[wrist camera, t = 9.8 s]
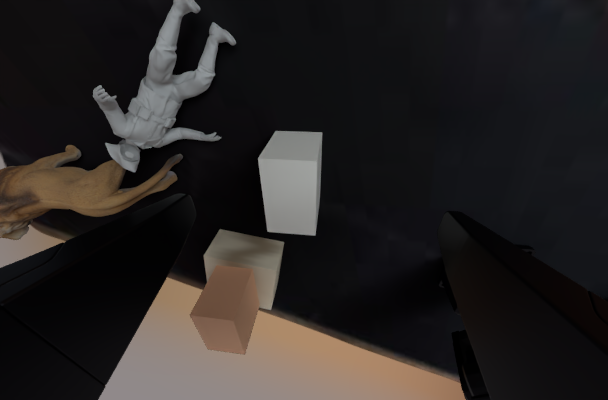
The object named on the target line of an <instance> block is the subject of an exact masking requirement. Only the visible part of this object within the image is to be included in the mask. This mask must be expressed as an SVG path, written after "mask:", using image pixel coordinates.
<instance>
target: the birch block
mask: <svg viewBox="0 0 608 400" xmlns="http://www.w3.org/2000/svg"><path fill="white" fill-rule="evenodd" d="M283 246H284V242H281V241H276V240H271V239H266V238H261V237H256V236H251V235H246V234H242V233H237V232H232V231H227V230H222V229H220V230H219V231H218V233H217V235H216V236H215V238H214V240H213V241H212V243H211V244H210V246H209V248H208V249H207V251H206V253H205V254H204V262H205V270H206V277H207V282H208V280H209V278H210V276H211V274H212V273H213V271H214V269H215V267H216V265H219V266H230V267H239V268H249V269H253V273H254V278H255V283H256V288H257V293H258V298H259V303H260V305H259V308H264V309H269V310H271V308H272V304H273V300H274V296H275V291H276V287H277V283H278V278H279V272H280V266H281V259H282V253H283Z"/></svg>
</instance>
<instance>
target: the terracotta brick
mask: <svg viewBox="0 0 608 400" xmlns="http://www.w3.org/2000/svg"><path fill="white" fill-rule="evenodd" d="M259 305H260V303H259V298H258V293H257V288H256V283H255V278H254V273H253V269H249V268H239V267H230V266H219V265H216V267H215V269H214V271H213V273H212V274H211V276H210V278H209V280H208V282H207V284H206V286H205V288H204V290H203V291H202V293H201V295H200V297H199V299H198V301H197V303H196V305H195V306H194V308H193V310H192V312H191V314H190V316H191V318H192V320H193V322H194V324H195V326H196V328H197V330H198V332H199V333H200V335H201V337H202V339H203V341H204V343H205V345H206V347H207V349H209V350H216V351H223V352H230V353H237V354H245V353H246V349H247V346H248V342H249V339H250V336H251V332H252V329H253V326H254V322H255V319H256V315H257V312H258V309H259Z"/></svg>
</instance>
